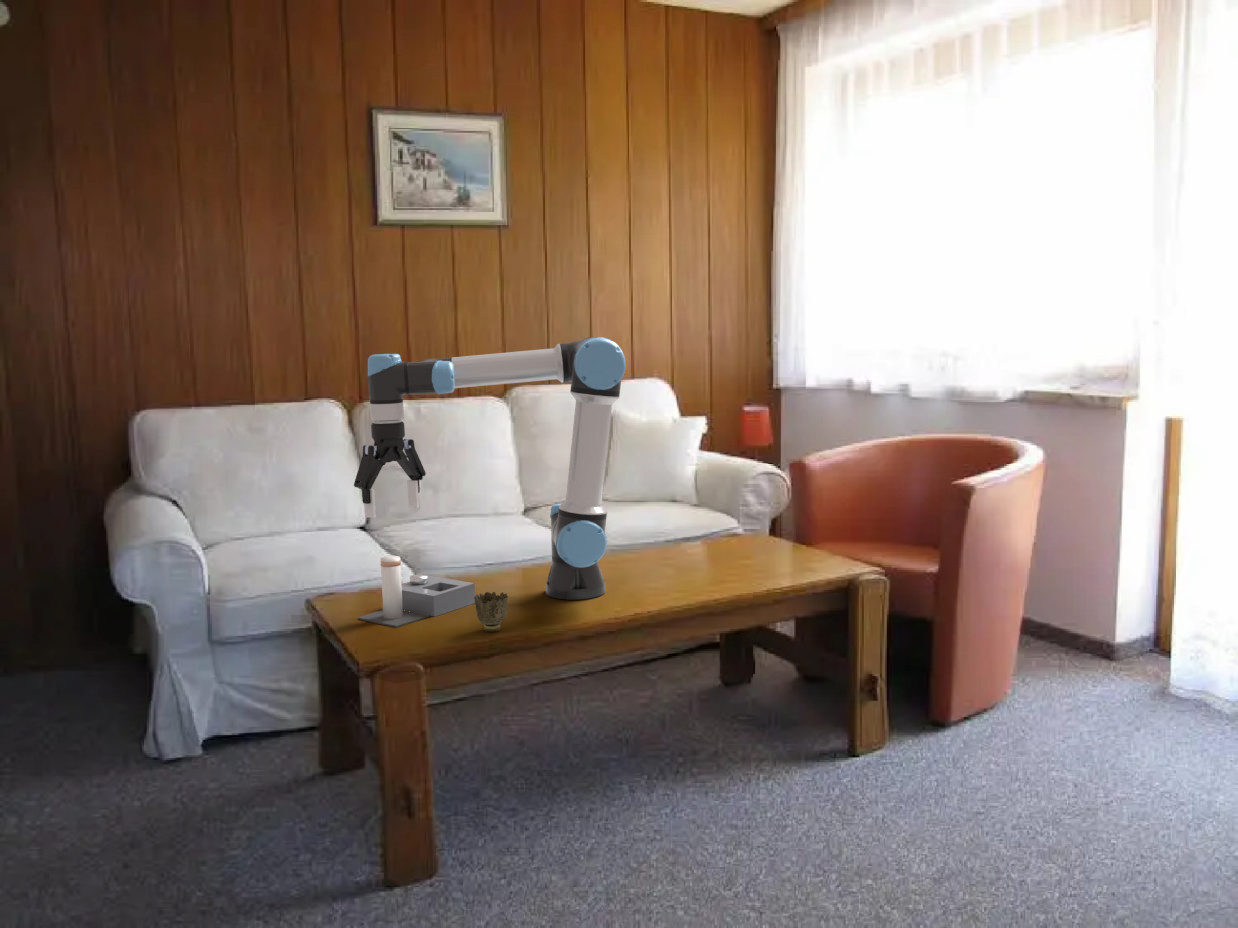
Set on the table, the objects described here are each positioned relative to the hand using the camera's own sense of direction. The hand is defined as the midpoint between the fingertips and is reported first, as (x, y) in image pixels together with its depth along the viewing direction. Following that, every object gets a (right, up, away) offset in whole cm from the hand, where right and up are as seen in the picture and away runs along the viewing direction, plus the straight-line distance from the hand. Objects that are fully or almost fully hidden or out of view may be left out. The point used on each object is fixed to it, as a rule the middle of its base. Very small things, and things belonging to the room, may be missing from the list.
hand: (392, 512), depth 245 cm
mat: (0, -25, +2) cm, 25 cm away
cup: (+24, -26, -9) cm, 37 cm away
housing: (+7, -23, +13) cm, 27 cm away
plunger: (+3, -22, +15) cm, 27 cm away
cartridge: (0, -25, +2) cm, 25 cm away
